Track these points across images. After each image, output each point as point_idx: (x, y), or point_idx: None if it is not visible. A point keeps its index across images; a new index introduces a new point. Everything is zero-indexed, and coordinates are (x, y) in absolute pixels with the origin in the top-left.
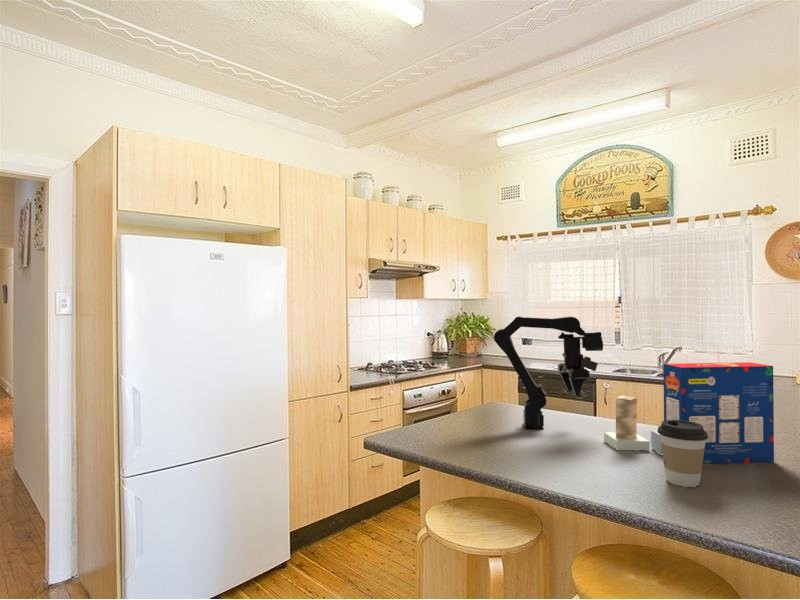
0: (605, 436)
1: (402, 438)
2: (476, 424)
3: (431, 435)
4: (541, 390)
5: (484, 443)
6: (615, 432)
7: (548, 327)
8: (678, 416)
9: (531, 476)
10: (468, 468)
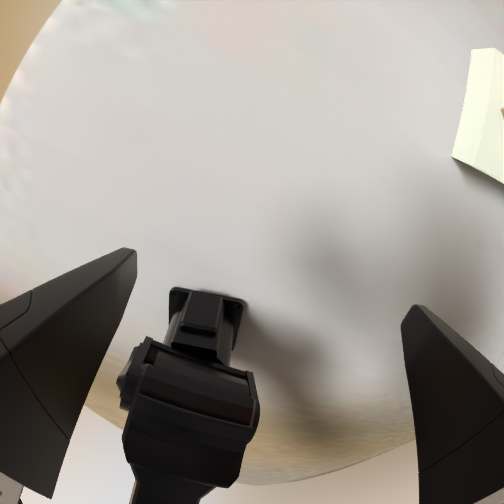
0: (474, 167)
1: (259, 475)
2: None
3: (251, 462)
4: (239, 465)
5: (327, 430)
6: (486, 122)
7: None
8: None
9: None
10: (414, 439)
